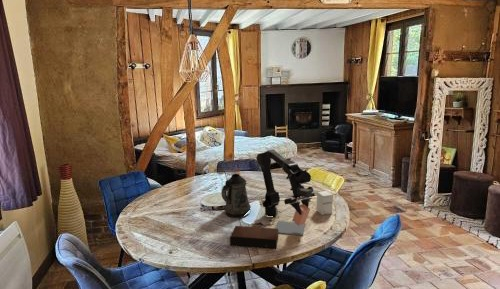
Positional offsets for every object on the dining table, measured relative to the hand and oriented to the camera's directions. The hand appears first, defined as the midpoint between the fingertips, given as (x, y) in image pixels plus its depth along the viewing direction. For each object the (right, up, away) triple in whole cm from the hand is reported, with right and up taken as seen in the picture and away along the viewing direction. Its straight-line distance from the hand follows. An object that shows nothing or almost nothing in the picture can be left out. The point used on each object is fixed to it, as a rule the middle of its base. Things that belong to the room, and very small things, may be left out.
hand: (304, 213), depth 181 cm
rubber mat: (-7, -10, +8) cm, 15 cm away
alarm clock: (-27, -14, -6) cm, 31 cm away
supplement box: (+17, -5, +29) cm, 35 cm away
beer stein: (-37, -6, +29) cm, 48 cm away
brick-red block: (-2, -5, +4) cm, 7 cm away
